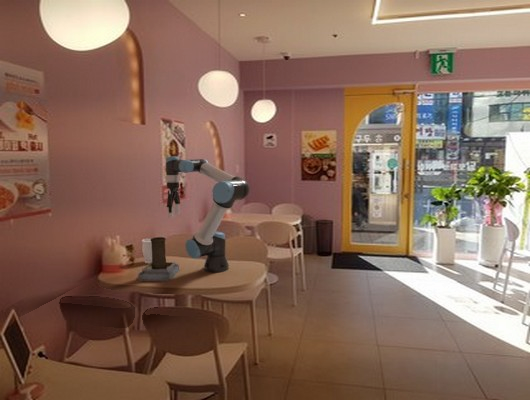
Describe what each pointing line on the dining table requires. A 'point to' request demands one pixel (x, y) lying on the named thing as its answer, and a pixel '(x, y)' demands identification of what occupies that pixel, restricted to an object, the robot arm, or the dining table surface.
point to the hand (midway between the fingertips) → (174, 216)
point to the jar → (147, 250)
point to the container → (158, 253)
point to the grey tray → (159, 273)
